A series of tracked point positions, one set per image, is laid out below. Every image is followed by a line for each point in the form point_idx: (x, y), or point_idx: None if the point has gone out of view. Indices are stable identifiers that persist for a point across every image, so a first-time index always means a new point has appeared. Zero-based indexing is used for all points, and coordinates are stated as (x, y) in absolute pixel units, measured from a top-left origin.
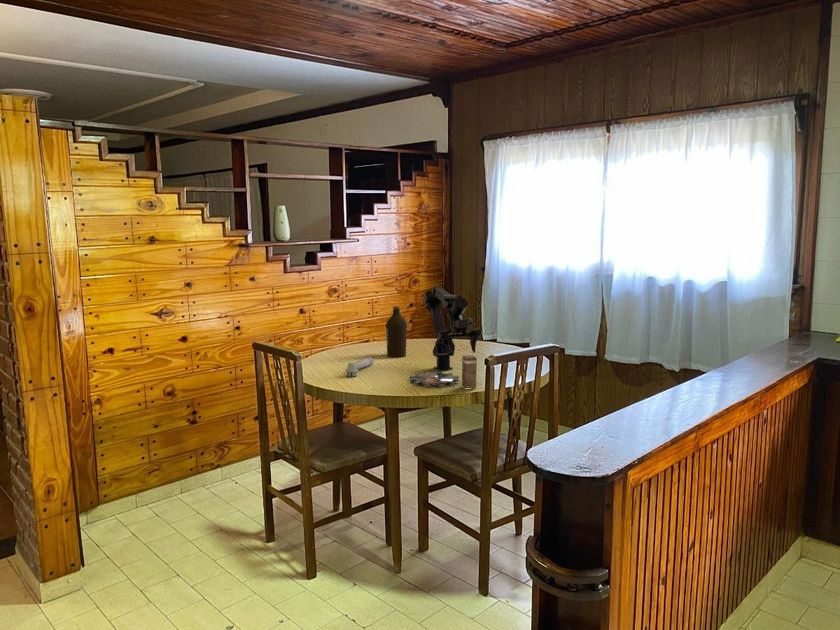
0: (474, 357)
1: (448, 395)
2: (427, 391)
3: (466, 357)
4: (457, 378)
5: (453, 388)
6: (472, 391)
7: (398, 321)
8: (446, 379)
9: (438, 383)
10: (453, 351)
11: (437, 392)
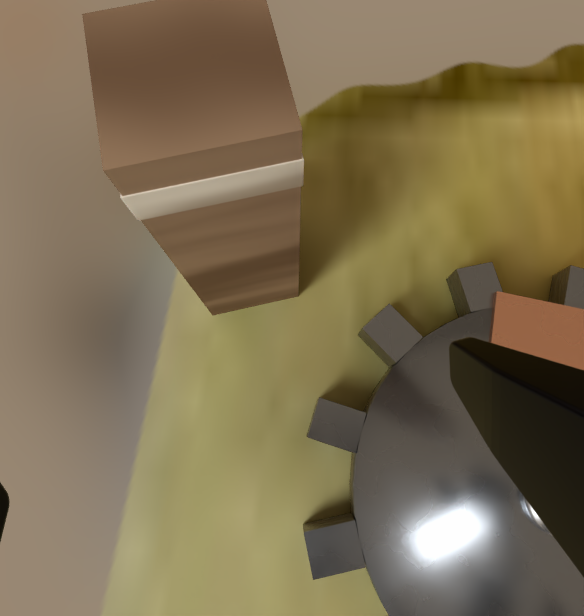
0: (116, 17)
1: (410, 94)
2: (560, 184)
3: (247, 20)
4: (316, 524)
5: (368, 253)
6: None
7: None
8: (430, 419)
9: (499, 283)
10: (481, 347)
11: (486, 159)
